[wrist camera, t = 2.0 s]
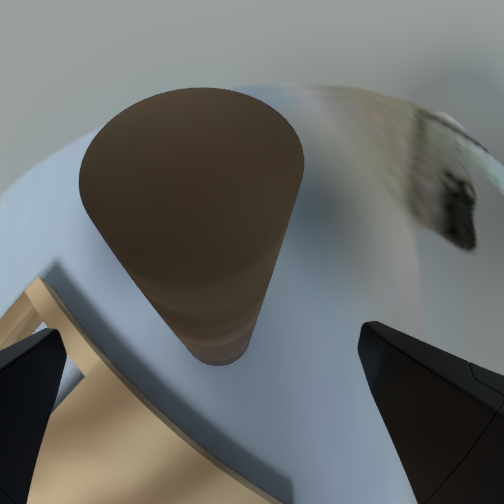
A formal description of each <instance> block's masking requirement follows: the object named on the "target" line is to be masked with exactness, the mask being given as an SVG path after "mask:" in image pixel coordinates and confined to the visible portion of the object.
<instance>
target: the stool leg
mask: <svg viewBox="0 0 504 504" xmlns="http://www.w3.org/2000/svg"><path fill="white" fill-rule="evenodd" d="M303 171H304V155H303V150H302V146H301V143H300V140H299V138H298V136H297V134H296V132H295V131H294V129H293V127H292V126H291V125H290V124H289V123H288V121H287V120H286V119H285V118H284V117H283V116H282V115H281V114H280V113H279V112H277V111H276V110H274V109H273V108H272V107H270V106H269V105H267V104H265V103H264V102H262V101H260V100H258V99H255V98H253V97H251V96H248V95H245V94H242V93H239V92H235V91H230V90H225V89H218V88H187V89H179V90H173V91H169V92H165V93H161V94H157V95H154V96H152V97H149V98H146V99H144V100H142V101H140V102H138V103H136V104H134V105H132V106H130V107H128V108H127V109H125V110H123V111H122V112H121V113H120V114H118V115H116V116H115V117H114V118H113V119H112V120H110V121H109V122H108V123H107V124H106V125H105V126H104V127H103V128H102V129H101V130H100V131H99V132H98V134H97V135H96V136H95V138H94V139H93V140H92V142H91V144H90V145H89V147H88V149H87V151H86V153H85V155H84V158H83V160H82V164H81V168H80V172H79V191H80V196H81V200H82V203H83V206H84V208H85V210H86V212H87V214H88V216H89V217H90V219H91V220H92V222H93V223H94V225H95V226H96V228H97V229H98V231H99V232H100V234H101V235H102V237H103V238H104V240H105V241H106V243H107V244H108V246H109V247H110V249H111V250H112V252H113V253H114V255H115V256H116V257H117V259H118V260H119V262H120V263H121V264H122V266H123V267H124V269H125V270H126V271H127V273H128V274H129V276H130V277H131V278H132V280H133V281H134V282H135V284H136V285H137V286H138V288H139V289H140V290H141V292H142V293H143V294H144V296H145V297H146V298H147V300H148V301H149V302H150V303H151V305H152V306H153V307H154V309H155V310H156V311H157V312H158V314H159V315H160V316H161V317H162V319H163V320H164V321H165V322H166V324H167V325H168V326H169V327H170V328H171V330H172V331H173V332H174V333H175V334H176V336H177V337H178V338H179V339H180V340H181V342H182V343H183V344H184V345H185V346H186V348H187V349H188V350H189V351H190V352H191V353H192V354H193V355H194V356H195V357H196V358H197V359H198V360H200V361H201V362H203V363H206V364H209V365H214V366H222V365H227V364H230V363H232V362H234V361H236V360H237V359H238V358H240V357H241V356H242V355H243V353H244V352H245V350H246V349H247V347H248V344H249V341H250V338H251V335H252V332H253V330H254V327H255V324H256V321H257V318H258V315H259V312H260V309H261V306H262V303H263V300H264V297H265V294H266V291H267V288H268V285H269V282H270V279H271V276H272V273H273V270H274V266H275V263H276V260H277V257H278V254H279V251H280V248H281V245H282V242H283V239H284V235H285V232H286V229H287V226H288V223H289V220H290V216H291V213H292V210H293V207H294V204H295V200H296V197H297V194H298V191H299V188H300V184H301V181H302V177H303Z"/></svg>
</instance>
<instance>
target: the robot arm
mask: <svg viewBox="0 0 504 504" xmlns="http://www.w3.org/2000/svg"><path fill="white" fill-rule="evenodd" d="M358 354H359V357H360V360H361V363H362V366H363V369H364V372H365V376H366V379H367V382H368V385H369V388H370V391H371V394H372V396H373V398H374V401H375V403H376V405H377V407H378V410H379V412H380V414H381V416H382V418H383V421H384V423H385V425H386V428H387V430H388V432H389V434H390V437H391V439H392V441H393V444H394V446H395V448H396V451H397V453H398V456H399V458H400V460H401V463H402V465H403V468H404V470H405V473H406V475H407V477H408V480H409V482H410V485H411V487H412V490H413V492H414V495H415V498H416V500H417V503H418V504H504V376H503V375H500V374H498V373H495V372H492V371H490V370H488V369H485V368H483V367H480V366H478V365H476V364H473V363H471V362H470V363H469V362H468V361H466V360H464V359H461V358H459V357H457V356H455V355H452V354H450V353H448V352H445V351H443V350H441V349H439V348H436V347H434V346H432V345H429V344H427V343H425V342H423V341H420V340H418V339H416V338H414V337H411V336H409V335H407V334H405V333H402V332H400V331H398V330H396V329H393V328H391V327H389V326H387V325H384V324H382V323H380V322H378V321H371V322H365V323H364V324H363V325H362V327H361V332H360V337H359V341H358ZM66 359H67V353H66V349H65V346H64V343H63V340H62V337H61V334H60V332H59V330H58V329H55V328H45V329H43V330H41V331H39V332H37V333H35V334H33V335H31V336H29V337H27V338H25V339H23V340H21V341H19V342H16V343H14V344H12V345H10V346H8V347H6V348H4V349H2V350H0V504H27V500H28V495H29V491H30V486H31V482H32V478H33V474H34V470H35V466H36V462H37V458H38V454H39V451H40V447H41V444H42V440H43V437H44V434H45V431H46V427H47V424H48V421H49V418H50V415H51V412H52V409H53V406H54V403H55V400H56V397H57V393H58V389H59V385H60V381H61V377H62V374H63V370H64V366H65V363H66Z"/></svg>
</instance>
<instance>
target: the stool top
mask: <svg viewBox="0 0 504 504" xmlns="http://www.w3.org/2000/svg"><path fill="white" fill-rule="evenodd" d="M42 321H44V322H45V324H46V325H47V327H48V328H55V329H58V330H59V332H60V334H61V337H62V340H63V343H64V346H65V349H66V353H67V354H68V356H69V357H70V358H71V360H72V361H73V362H74V363H75V365H76V366H77V367H78V368H79V370H80V371H81V372H82V373H83V375H84V376H85V377H84V378H83V379H82V380H81V381H80V383H79V384H78V385H77V386H76V387H75V388H74V389H73V390H72V391H71V392H70V394H69V395H68V396H67V397H66V398H65V399H64V400H63V401H62V402H61V404H60V405H59V406H58V407H57V408H56V409H55V410H54V411H53V413H52V414H51V415H50V418H49V421H48V424H47V427H46V431H45V434H44V437H43V440H42V444H41V447H40V451H39V454H38V458H37V462H36V466H35V470H34V474H33V478H32V482H31V486H30V491H29V495H28V500H27V504H284V503H282V502H281V501H279V500H277V499H276V498H274V497H273V496H271V495H269V494H268V493H266V492H264V491H263V490H261V489H260V488H258V487H257V486H255V485H254V484H252V483H251V482H249V481H248V480H246V479H245V478H243V477H242V476H240V475H239V474H237V473H236V472H235V471H233V470H232V469H230V468H229V467H228V466H226V465H225V464H224V463H222V462H221V461H220V460H218V459H217V458H216V457H214V456H213V455H212V454H210V453H209V452H208V451H206V450H205V449H204V448H203V447H201V446H200V445H199V444H198V443H196V442H195V441H194V440H193V439H192V438H190V437H189V436H188V435H187V434H186V433H184V432H183V431H182V430H181V429H180V428H179V427H177V426H176V425H175V424H174V423H173V422H172V421H171V420H169V419H168V418H167V417H166V416H165V415H164V414H163V413H162V412H161V411H160V410H158V409H157V408H156V407H155V406H154V405H153V404H152V403H151V402H150V401H149V400H148V399H147V398H146V397H145V396H144V395H143V394H142V393H141V392H140V391H139V390H138V389H137V388H136V387H135V386H134V385H133V384H132V383H131V382H130V381H129V380H128V379H127V378H126V377H125V376H124V375H123V374H122V373H121V372H120V371H119V369H118V368H117V367H116V366H115V365H114V364H113V363H112V362H111V361H110V360H109V359H108V357H107V356H106V355H105V354H104V353H103V352H102V351H101V349H100V348H99V347H98V346H97V345H96V344H95V342H94V341H93V340H92V339H91V338H90V336H89V335H88V334H87V333H86V332H85V330H84V329H83V328H82V327H81V325H80V324H79V323H78V322H77V320H76V319H75V318H74V316H73V315H72V314H71V313H70V311H69V310H68V309H67V307H66V306H65V305H64V303H63V302H62V300H61V299H60V298H59V296H58V295H57V294H56V292H55V291H54V289H53V288H52V287H51V286H50V285H49V284H48V283H46V282H45V281H44V280H43V279H41V278H40V277H39V276H38V277H37V278H36V279H35V280H34V281H33V282H32V283H31V284H30V285H29V286H28V288H27V289H26V290H25V291H24V292H23V293H22V294H21V295H20V297H19V298H18V299H17V300H16V301H15V302H14V304H13V305H12V306H11V307H10V308H9V310H8V311H7V312H6V313H5V314H4V316H3V317H2V318H1V319H0V350H2V349H4V348H6V347H8V346H10V345H12V344H14V343H16V342H19V341H21V340H23V339H25V338H27V337H29V336H30V335H31V334H32V333H33V332H34V331H35V329H36V328H37V327H38V326H39V325H40V324H41V323H42Z"/></svg>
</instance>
